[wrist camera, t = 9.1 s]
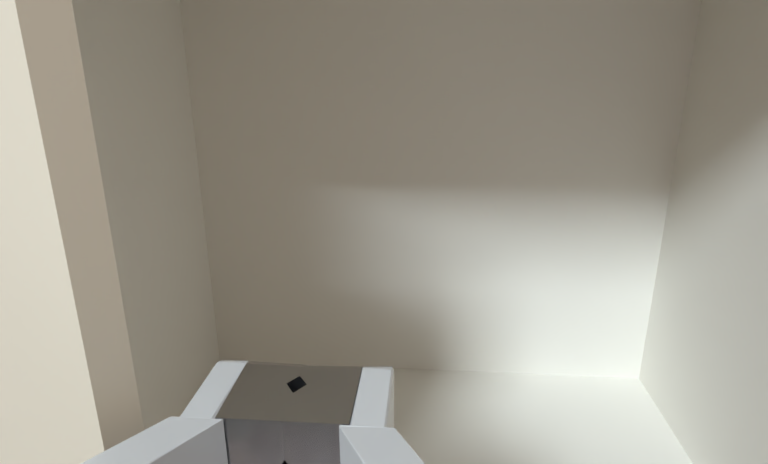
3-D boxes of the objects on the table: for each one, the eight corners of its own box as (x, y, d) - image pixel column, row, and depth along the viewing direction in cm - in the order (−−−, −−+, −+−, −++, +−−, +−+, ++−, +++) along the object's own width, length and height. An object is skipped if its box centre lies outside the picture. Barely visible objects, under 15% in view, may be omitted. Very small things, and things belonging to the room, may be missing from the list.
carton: (645, 382, 27) (847, 696, 14) (213, 364, 29) (32, 629, 16) (722, -70, 21) (1221, -272, 8) (164, -60, 23) (-208, -210, 9)
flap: (214, 848, 11) (190, 882, 11) (30, 629, 16) (7, 646, 15) (0, -419, 5) (-79, -467, 5) (-210, -204, 9) (-261, -218, 9)
